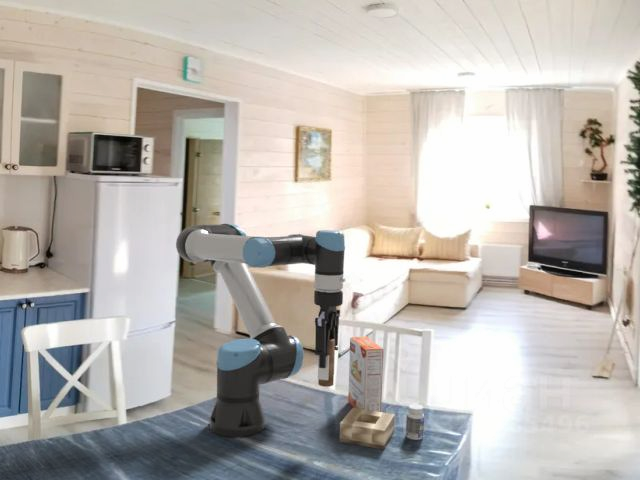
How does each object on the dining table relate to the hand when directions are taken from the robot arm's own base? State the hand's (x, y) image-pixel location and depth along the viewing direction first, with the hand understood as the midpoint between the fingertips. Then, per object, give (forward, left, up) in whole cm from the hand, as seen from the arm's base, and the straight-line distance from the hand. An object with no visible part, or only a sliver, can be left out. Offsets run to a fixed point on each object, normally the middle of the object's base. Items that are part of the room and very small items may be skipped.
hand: (326, 376), depth 158 cm
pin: (0, 0, -2) cm, 2 cm away
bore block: (+11, +5, -17) cm, 20 cm away
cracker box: (+5, +23, -17) cm, 29 cm away
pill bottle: (+22, +10, -17) cm, 30 cm away
